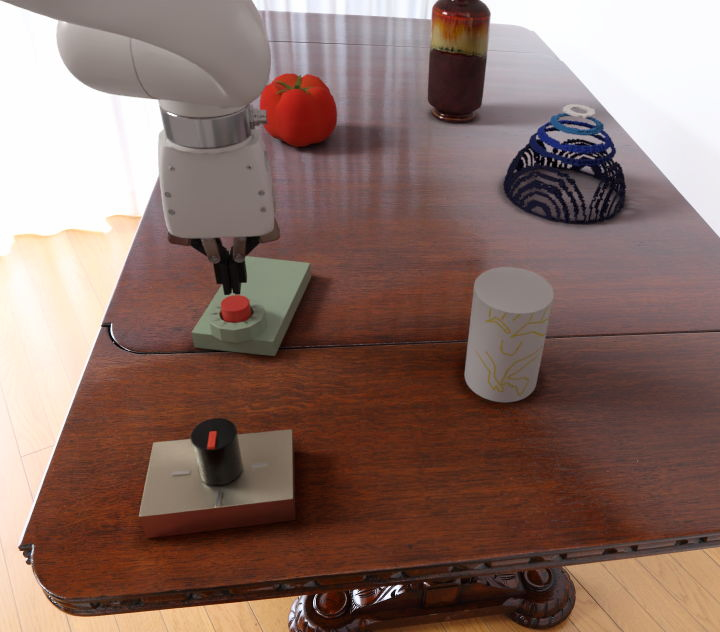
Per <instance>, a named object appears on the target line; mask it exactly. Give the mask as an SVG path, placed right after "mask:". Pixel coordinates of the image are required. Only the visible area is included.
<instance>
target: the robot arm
mask: <svg viewBox="0 0 720 632" xmlns="http://www.w3.org/2000/svg"><path fill="white" fill-rule="evenodd" d="M0 2H3V3H6V4H8V5H12V6H14V7H16V8H20V9H23V10H25V11H29V12H30V13H31V12H32V13H34V14H37V15H40V16H44V17H47V18H50V19H52V20H55V21H57V25H56V33H55V34H56V35H55V37H56V46H57V49H58V54H59V56H60V58H61V60H62V62H63V65H64V66H65V67H66V69H67V70H68V71H69V73H70V74H71V75H72V76H73V77H74V78H75V79H76V80H78V81H79V82H80V83H82V84H83V85H85V86H87V87H89V88H90V89H93V90H96V91H98V92H102V93H105V94H108V95H115V96H121V97H129V98H139V99H149V100H156V101H157V102H158V104H159V111H160V117H161V121H162V125H163V126H162V127H163V129H162V130H161V131H160V132H159V133H158V142H157V162H158V163H157V164H158V176H159V177H158V179H159V186H160V196H161V197H160V198H161V204H162V210H163V211H162V212H163V216H164V223H165V226H166V229H167V242H168V243H170V244H172V245H177V246H183V247H191V248H193V249H195V250H196V251H197V252H199V253H200V254H202V255H204V256H205V257H206V258H207V260H208V262H209V263H210V264H212V265H213V272H214V278H215V283H216V285H222V284H223V290H224V295H230V294H232V290H233V293H235V295H238V294H240V292H241V283H247V271H246V264H245V257H246V256H249V254H250V253H251V252H253V250H255V249H256V248H257V246H258V245H260V244H262V245H263V244H267V243H271V242H275V241H278V240H280V237H281V228H280V227H279V224H278V221H277V219H276V217H275V216H276V215H275V214H276V198H275V191H274V184H273V177H272V171H271V166H270V165H271V164H270V161H269V156H268V152H267V148H266V145H265V141H264V138H263V135H262V133H261V130H260V129H258V128H257V127H260V125H262V126H263V125H267V113H266V110H260V109H259V108H258V107H254V105H253V104H251V103H253V102H255V101H256V100H257V99H259V97H261V94H262V92H263V90H264V88H265V87H266V85H268V81H269V79H270V75H271V69H272V68H271V67H272V54H271V53H272V52H271V45H270V41H269V36H268V33H267V29H266V25H265V24H264V21H263V19H262V17H261V15H260V12H259V10H258V8H257V7H256V4H255V3H254V1H253V0H0ZM222 238H223V239H224V238H233V239H232V241H233V243H232V246H230V250H228V248H227V247H225V246H224V245H223V241H222Z"/></svg>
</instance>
